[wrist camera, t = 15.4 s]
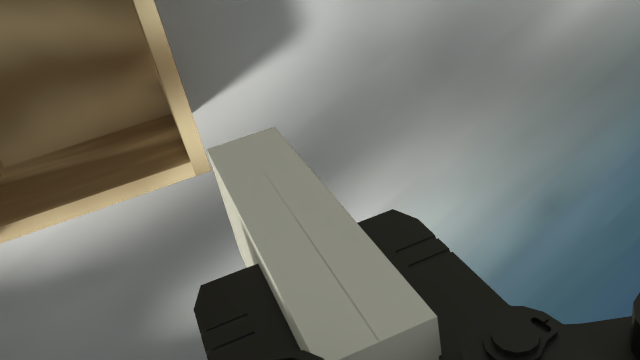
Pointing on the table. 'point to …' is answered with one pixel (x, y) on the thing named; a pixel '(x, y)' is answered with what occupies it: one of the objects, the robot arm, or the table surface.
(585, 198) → the table surface
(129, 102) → the open wooden box
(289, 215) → the robot arm
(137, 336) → the table surface
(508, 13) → the table surface
